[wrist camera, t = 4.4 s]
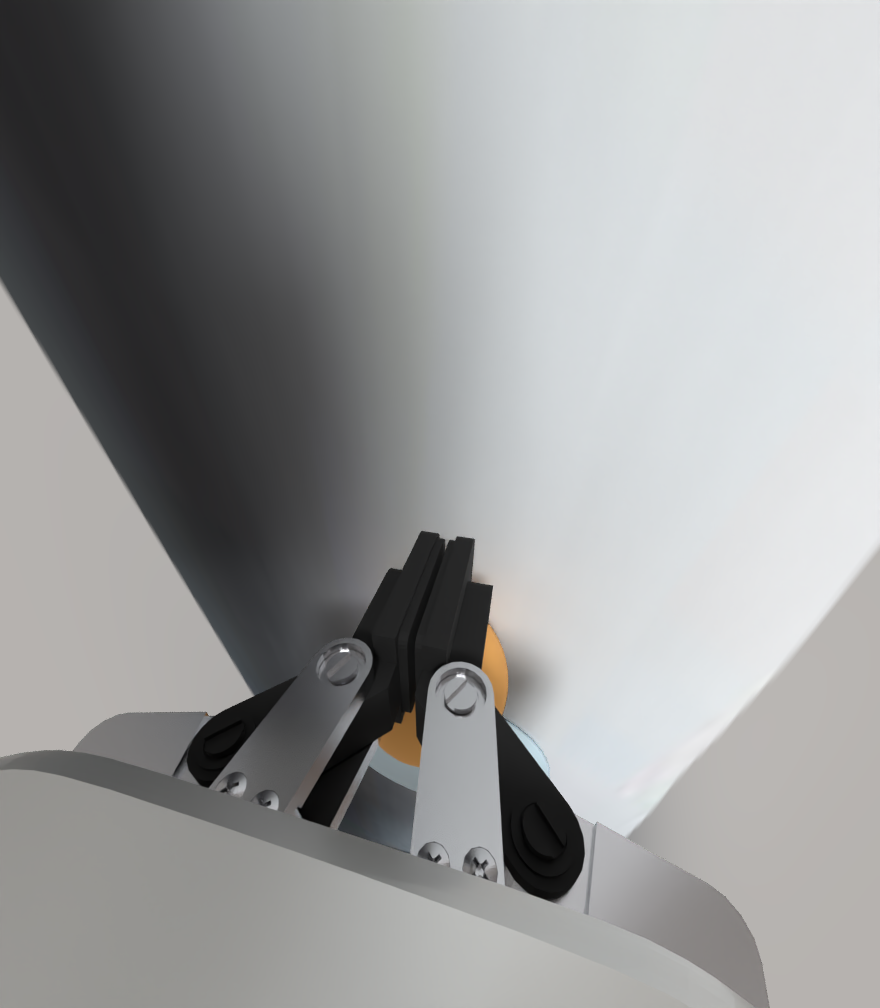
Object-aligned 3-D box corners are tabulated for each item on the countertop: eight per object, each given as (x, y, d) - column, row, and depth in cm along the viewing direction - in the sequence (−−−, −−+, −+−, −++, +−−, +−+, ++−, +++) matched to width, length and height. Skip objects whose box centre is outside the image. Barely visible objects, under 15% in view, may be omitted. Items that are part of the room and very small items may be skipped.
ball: (354, 576, 11) (303, 770, 10) (524, 608, 10) (498, 830, 9) (395, 590, 17) (367, 719, 15) (512, 612, 16) (495, 753, 14)
